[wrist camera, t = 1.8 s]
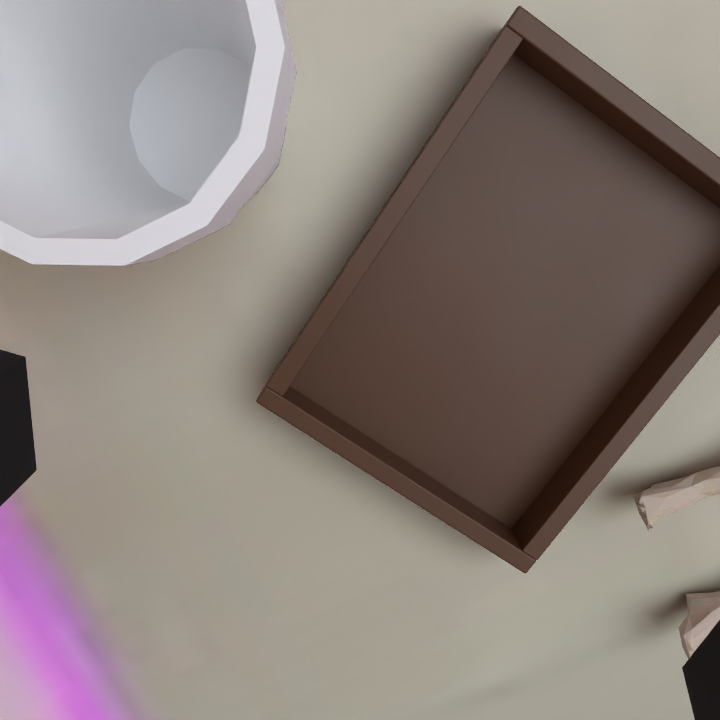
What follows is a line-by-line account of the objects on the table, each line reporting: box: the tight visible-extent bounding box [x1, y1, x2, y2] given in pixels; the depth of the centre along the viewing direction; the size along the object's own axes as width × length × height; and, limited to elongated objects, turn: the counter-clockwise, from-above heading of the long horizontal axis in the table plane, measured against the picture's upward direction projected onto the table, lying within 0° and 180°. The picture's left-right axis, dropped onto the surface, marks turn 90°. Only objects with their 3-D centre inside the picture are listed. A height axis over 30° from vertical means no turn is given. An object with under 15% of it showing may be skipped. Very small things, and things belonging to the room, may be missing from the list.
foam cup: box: [0, 0, 297, 266], centre depth 20 cm, size 10×9×13 cm
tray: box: [256, 6, 720, 573], centre depth 26 cm, size 18×14×3 cm
